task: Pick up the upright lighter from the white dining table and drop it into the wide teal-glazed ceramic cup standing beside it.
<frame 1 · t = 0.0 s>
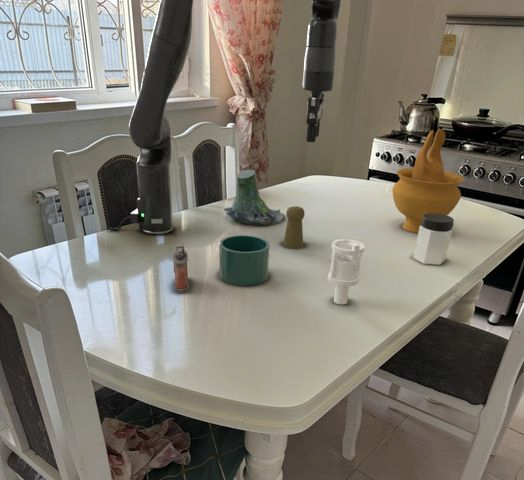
hand: (312, 139, 132), 29 cm above the table, tool pointing down, fingers open, 8 cm apart
decorative bowl: (418, 228, 166), on the table
jar: (428, 260, 143), on the table
ceramic cup: (243, 275, 127), on the table
lighter: (181, 286, 121), on the table
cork: (293, 245, 148), on the table
tree stump: (254, 218, 168), on the table
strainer: (340, 302, 117), on the table
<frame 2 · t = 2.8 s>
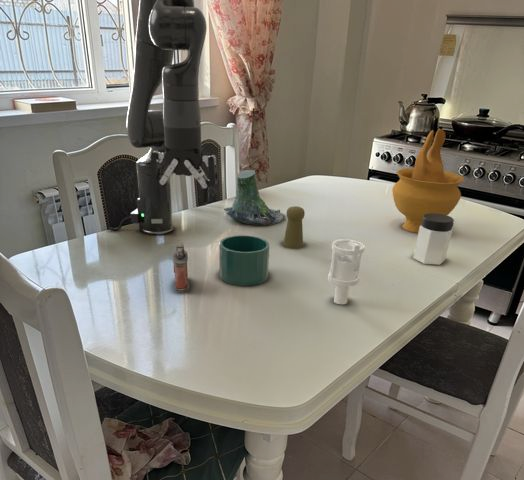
hand: (185, 202, 111), 20 cm above the table, tool pointing down, fingers open, 8 cm apart
nothing on the table moved.
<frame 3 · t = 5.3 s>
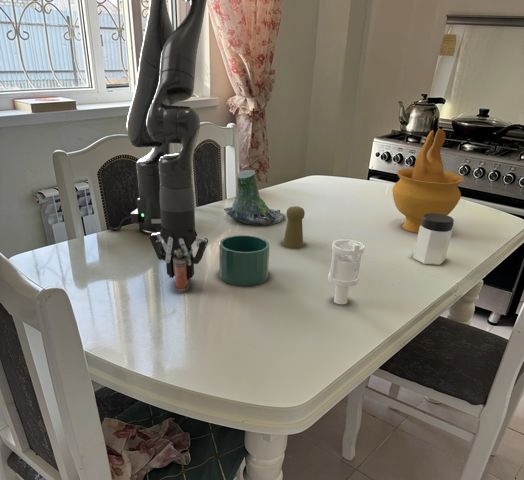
hand: (180, 277, 120), 2 cm above the table, tool pointing down, fingers closed on lighter, 3 cm apart
lighter: (181, 286, 121), on the table, touching gripper
everything else where it was.
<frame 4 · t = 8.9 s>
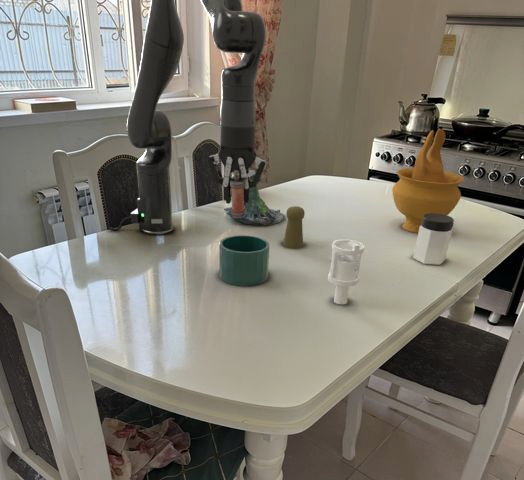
hand: (236, 203, 117), 19 cm above the table, tool pointing down, fingers closed on lighter, 3 cm apart
lighter: (238, 213, 118), point 16 cm above the table, touching gripper
everything else where it was.
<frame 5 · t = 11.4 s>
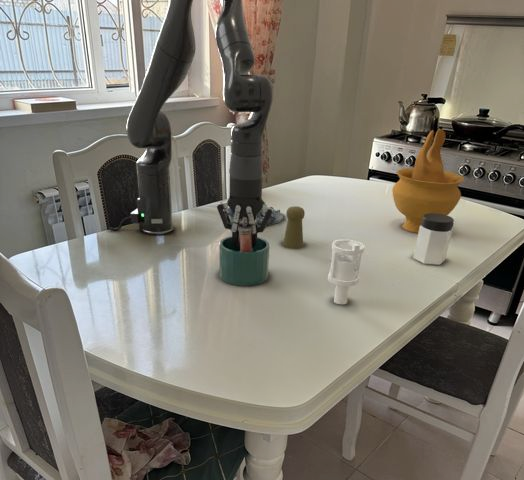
hand: (244, 246, 123), 8 cm above the table, tool pointing down, fingers closed on lighter, 3 cm apart
lighter: (246, 255, 124), point 5 cm above the table, touching gripper
everything else where it was.
when the fingers open (5 cm above the table, at t = 13.6 s): lighter drops 2 cm, resting on ceramic cup.
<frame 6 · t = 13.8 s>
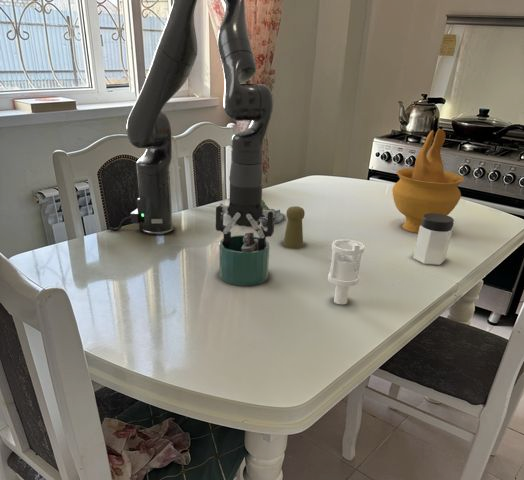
hand: (244, 249, 124), 7 cm above the table, tool pointing down, fingers open, 7 cm apart
lighter: (254, 273, 126), point 1 cm above the table, touching ceramic cup
everything else where it was.
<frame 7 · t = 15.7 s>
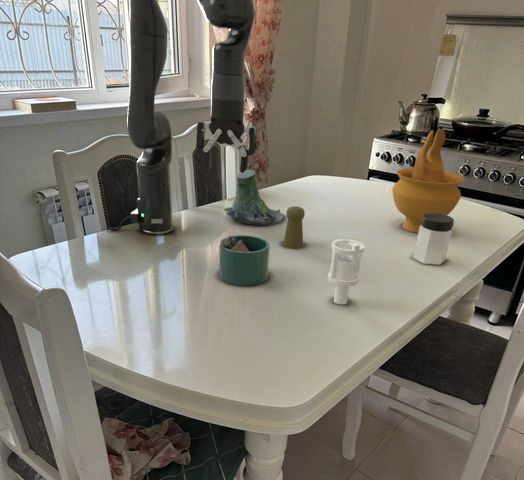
hand: (225, 170, 123), 24 cm above the table, tool pointing down, fingers open, 8 cm apart
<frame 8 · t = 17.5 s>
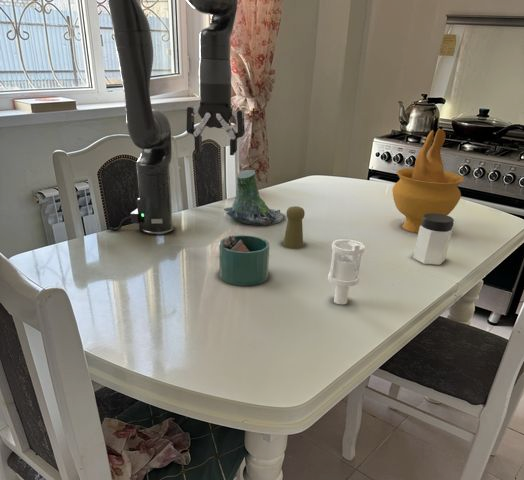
hand: (215, 153, 127), 26 cm above the table, tool pointing down, fingers open, 8 cm apart
at the end: lighter inside the target area in the ceramic cup (2.5 cm from its centre), point 1.8 cm above the ceramic cup's base; the gripper is holding nothing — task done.
